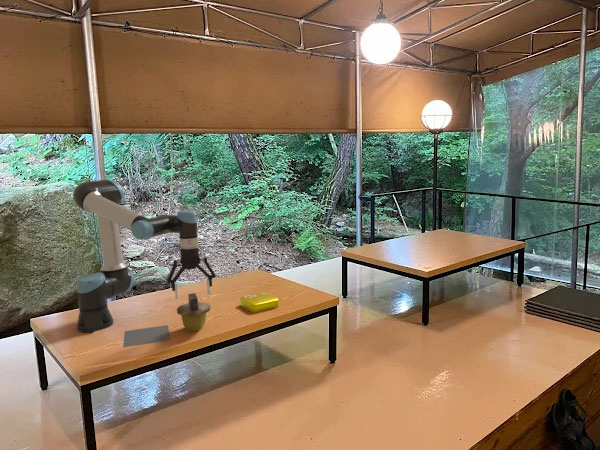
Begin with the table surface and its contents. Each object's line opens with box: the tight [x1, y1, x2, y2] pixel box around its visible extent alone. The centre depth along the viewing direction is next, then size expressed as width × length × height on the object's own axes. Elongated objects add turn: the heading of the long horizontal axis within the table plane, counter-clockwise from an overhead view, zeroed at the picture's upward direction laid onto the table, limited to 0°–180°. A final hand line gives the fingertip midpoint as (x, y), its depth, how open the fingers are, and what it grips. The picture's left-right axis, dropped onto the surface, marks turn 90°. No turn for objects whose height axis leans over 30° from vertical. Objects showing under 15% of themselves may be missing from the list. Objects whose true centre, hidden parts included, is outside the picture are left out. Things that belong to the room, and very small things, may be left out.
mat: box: [122, 324, 171, 348], centre depth 200 cm, size 18×18×1 cm
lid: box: [176, 293, 211, 316], centre depth 204 cm, size 14×14×6 cm
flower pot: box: [180, 312, 207, 332], centre depth 205 cm, size 9×9×9 cm
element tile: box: [239, 291, 280, 314], centre depth 234 cm, size 15×15×5 cm
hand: (192, 295), depth 203 cm, fingers open, 13 cm apart
